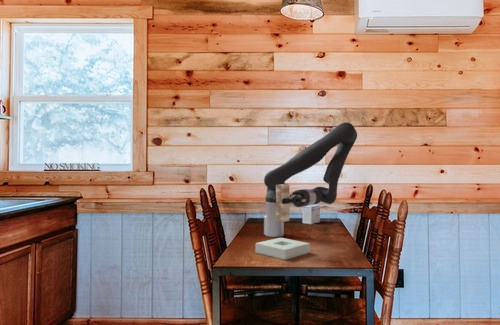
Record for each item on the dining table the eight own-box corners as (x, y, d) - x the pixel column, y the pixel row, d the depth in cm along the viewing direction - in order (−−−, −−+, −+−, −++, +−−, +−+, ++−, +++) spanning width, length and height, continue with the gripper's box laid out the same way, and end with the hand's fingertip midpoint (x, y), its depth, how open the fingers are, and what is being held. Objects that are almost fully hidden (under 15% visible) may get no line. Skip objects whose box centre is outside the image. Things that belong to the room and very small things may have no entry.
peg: (275, 220, 156) (275, 184, 156) (282, 219, 159) (282, 184, 159) (283, 222, 153) (283, 185, 153) (289, 220, 156) (289, 184, 156)
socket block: (255, 252, 156) (255, 243, 156) (280, 246, 167) (280, 237, 167) (284, 260, 145) (284, 249, 145) (309, 252, 156) (309, 243, 156)
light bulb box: (310, 220, 236) (310, 203, 236) (320, 222, 232) (320, 204, 232) (301, 223, 228) (302, 205, 228) (311, 224, 224) (311, 206, 224)
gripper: (291, 188, 171) (265, 190, 159) (317, 190, 161) (291, 193, 149) (291, 204, 171) (265, 208, 159) (317, 207, 161) (291, 211, 149)
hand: (278, 200), depth 154 cm, fingers closed on peg, 4 cm apart
